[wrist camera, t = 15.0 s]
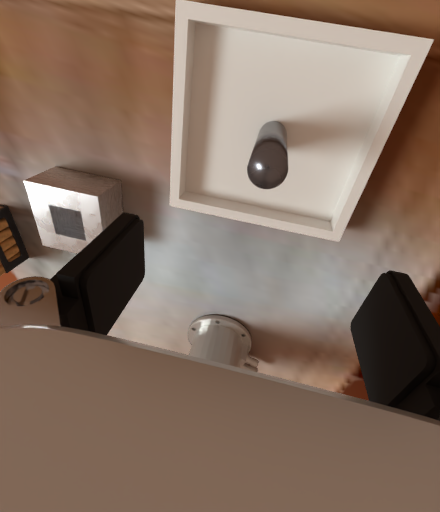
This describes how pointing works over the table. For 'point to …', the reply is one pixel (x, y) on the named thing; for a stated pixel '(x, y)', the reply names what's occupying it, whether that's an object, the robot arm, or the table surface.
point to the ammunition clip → (10, 242)
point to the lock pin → (269, 156)
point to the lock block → (72, 206)
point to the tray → (282, 112)
